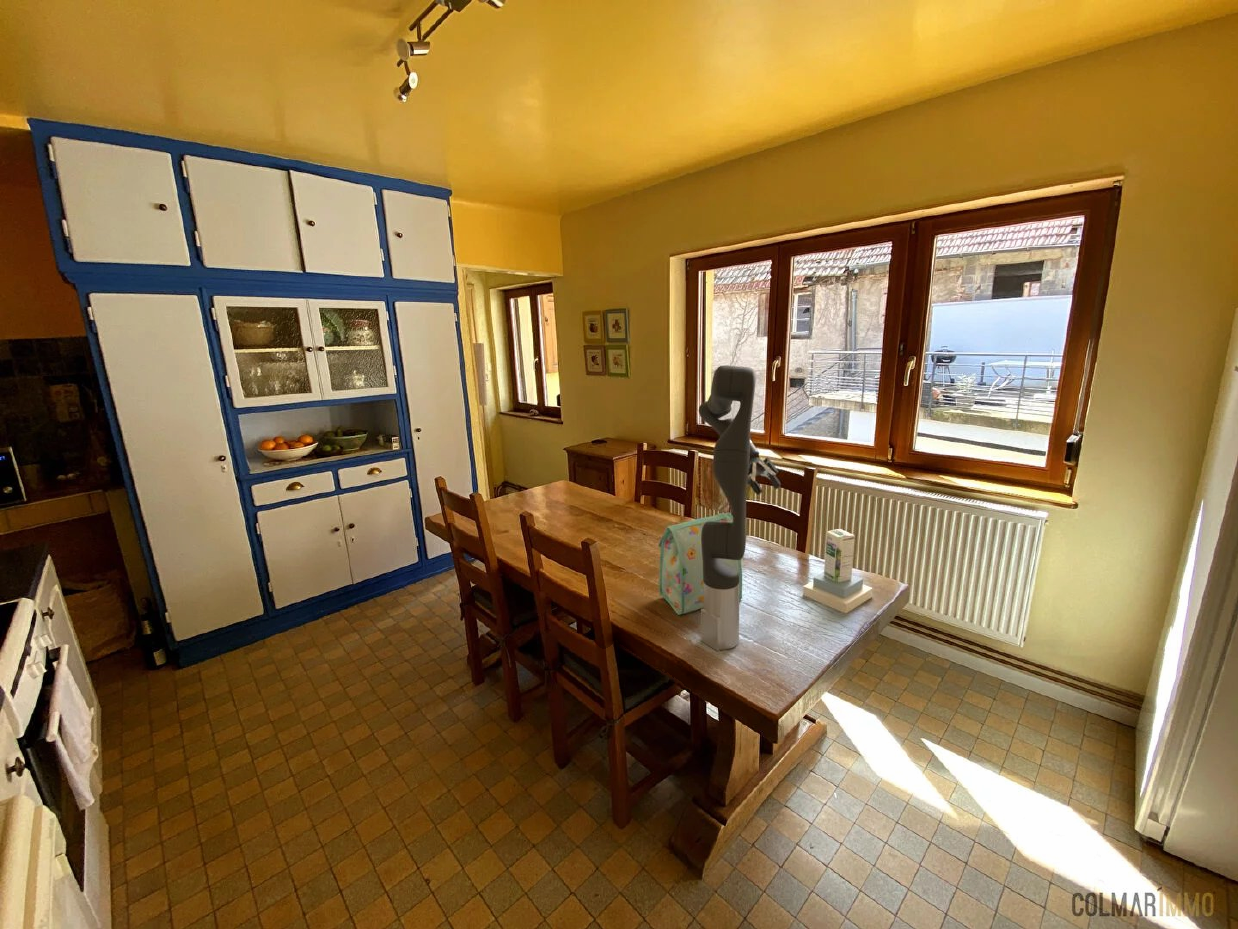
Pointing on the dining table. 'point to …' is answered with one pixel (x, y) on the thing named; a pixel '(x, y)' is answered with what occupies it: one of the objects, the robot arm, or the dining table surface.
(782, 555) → the dining table surface
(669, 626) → the dining table surface
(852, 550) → the syrup box
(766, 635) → the dining table surface
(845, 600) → the tower base
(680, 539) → the lunch bag
